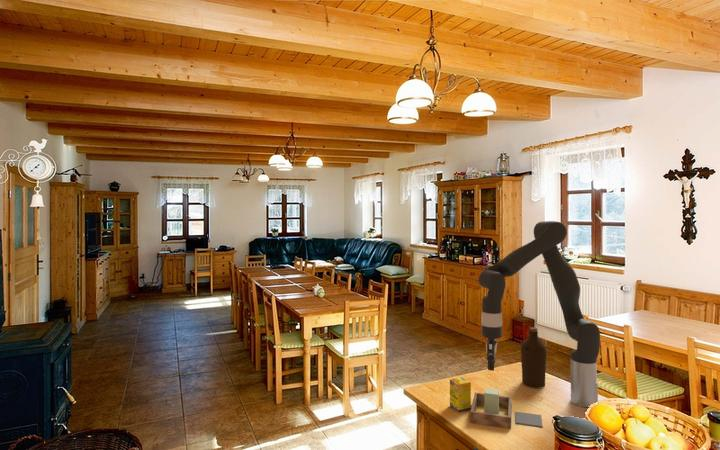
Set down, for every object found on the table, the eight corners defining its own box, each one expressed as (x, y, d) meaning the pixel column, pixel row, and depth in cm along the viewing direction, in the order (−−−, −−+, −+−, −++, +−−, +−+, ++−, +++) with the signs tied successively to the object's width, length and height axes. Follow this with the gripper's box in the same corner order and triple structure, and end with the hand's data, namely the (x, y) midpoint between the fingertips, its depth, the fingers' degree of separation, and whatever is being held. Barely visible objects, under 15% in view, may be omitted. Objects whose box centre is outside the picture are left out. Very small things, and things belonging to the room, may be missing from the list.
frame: (511, 407, 170) (511, 396, 170) (511, 428, 153) (511, 417, 153) (474, 402, 175) (474, 392, 175) (470, 422, 158) (470, 411, 158)
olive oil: (547, 390, 186) (547, 332, 185) (520, 386, 190) (520, 330, 189) (546, 381, 196) (546, 326, 195) (521, 378, 199) (520, 324, 199)
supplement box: (449, 406, 172) (449, 378, 171) (462, 403, 174) (461, 376, 174) (458, 412, 166) (458, 384, 166) (471, 409, 169) (471, 381, 168)
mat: (541, 416, 162) (541, 415, 162) (542, 427, 154) (542, 426, 154) (515, 412, 166) (515, 411, 166) (515, 423, 157) (515, 422, 157)
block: (498, 412, 166) (498, 389, 165) (498, 418, 161) (498, 394, 161) (485, 410, 167) (485, 387, 167) (484, 416, 163) (484, 392, 162)
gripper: (501, 329, 155) (501, 374, 156) (502, 320, 169) (502, 361, 169) (479, 327, 158) (479, 371, 158) (482, 318, 171) (482, 359, 172)
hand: (491, 366), depth 164 cm, fingers open, 8 cm apart
